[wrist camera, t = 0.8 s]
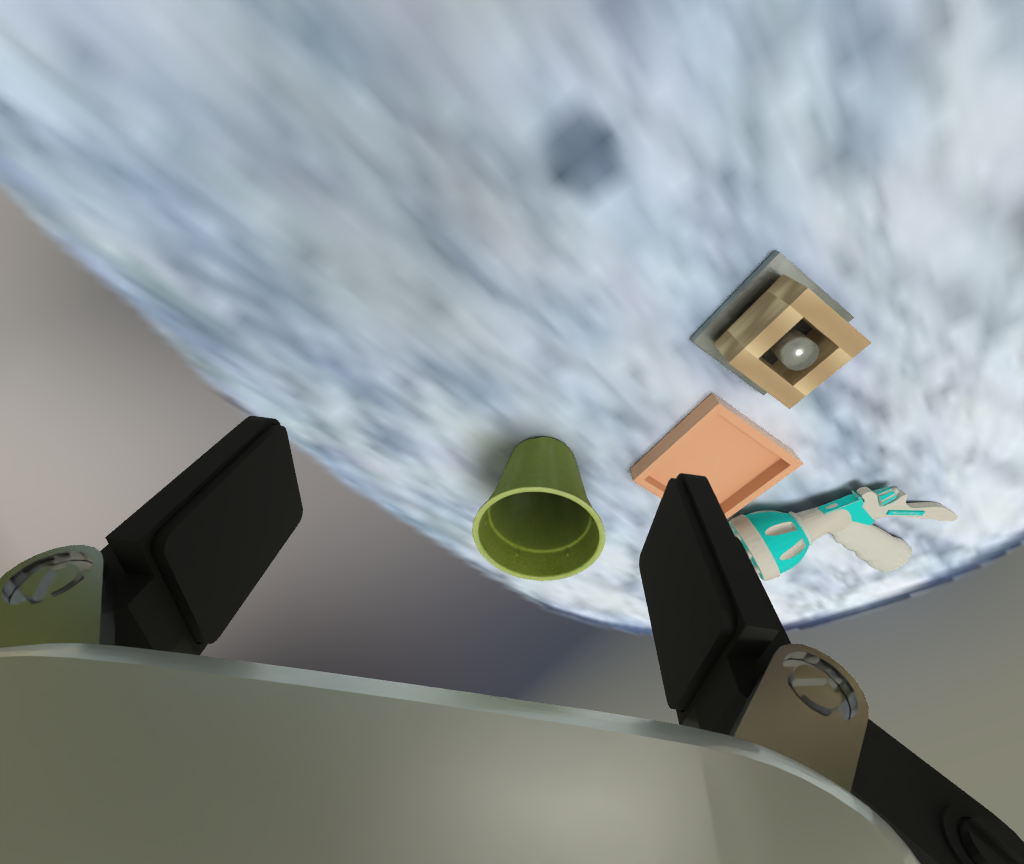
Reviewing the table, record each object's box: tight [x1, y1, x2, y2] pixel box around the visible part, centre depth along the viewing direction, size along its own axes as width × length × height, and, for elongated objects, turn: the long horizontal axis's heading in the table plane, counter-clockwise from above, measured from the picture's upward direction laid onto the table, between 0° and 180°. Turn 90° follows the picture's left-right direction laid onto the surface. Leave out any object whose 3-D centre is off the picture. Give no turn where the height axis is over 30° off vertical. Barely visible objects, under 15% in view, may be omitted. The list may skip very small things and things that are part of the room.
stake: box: [690, 250, 854, 395], centre depth 35 cm, size 9×9×6 cm
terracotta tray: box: [630, 393, 803, 519], centre depth 45 cm, size 12×12×2 cm
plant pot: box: [472, 437, 605, 581], centre depth 44 cm, size 12×12×11 cm
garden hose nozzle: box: [729, 486, 958, 581], centre depth 48 cm, size 7×18×20 cm
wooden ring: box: [714, 274, 871, 409], centre depth 35 cm, size 7×7×4 cm
